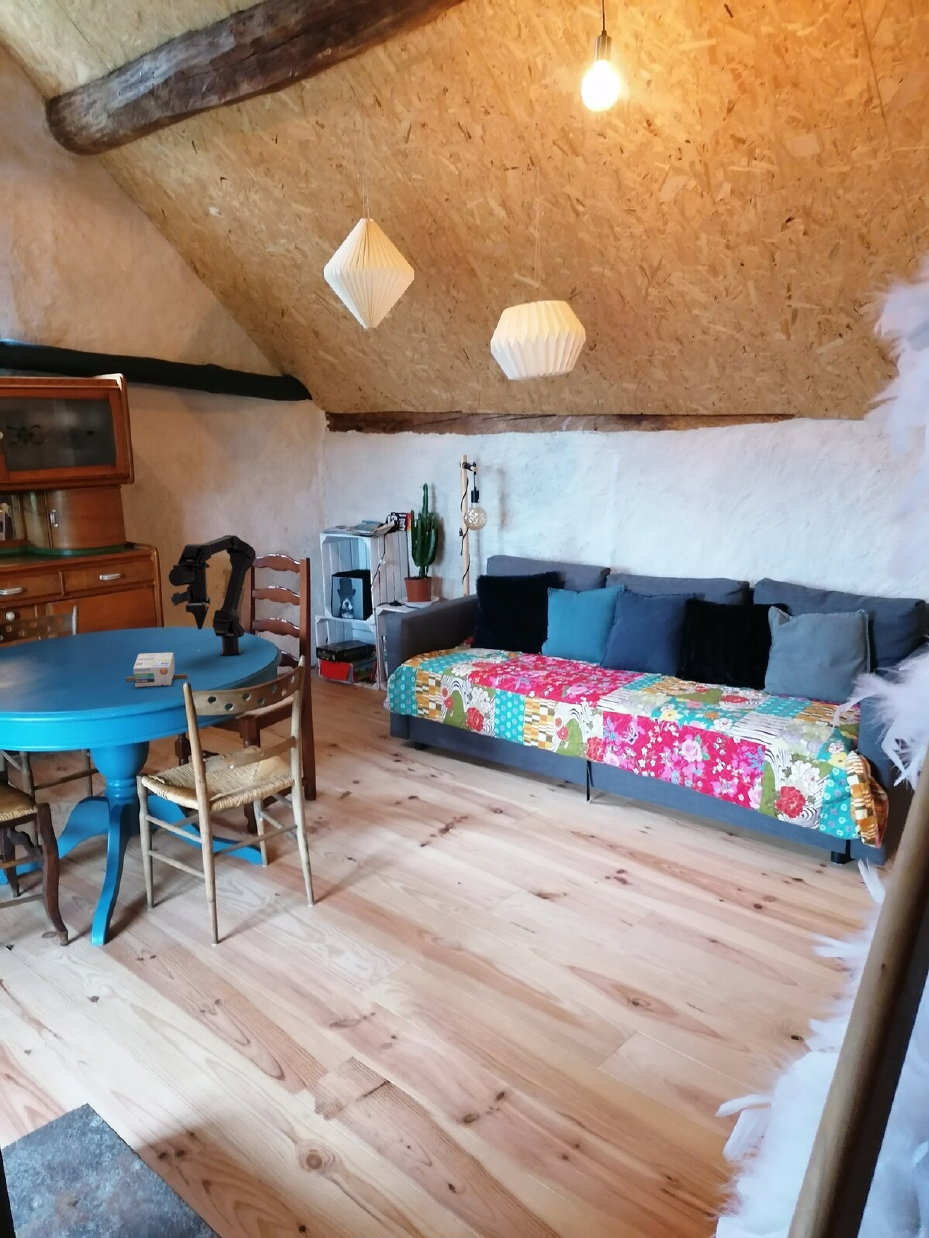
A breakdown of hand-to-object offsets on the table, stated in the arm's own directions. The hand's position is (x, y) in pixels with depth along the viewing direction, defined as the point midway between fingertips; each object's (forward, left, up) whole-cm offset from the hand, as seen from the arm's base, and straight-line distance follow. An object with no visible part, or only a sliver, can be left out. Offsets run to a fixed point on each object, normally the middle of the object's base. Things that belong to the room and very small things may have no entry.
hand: (200, 629), depth 275 cm
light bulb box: (+15, -12, -7) cm, 20 cm away
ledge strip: (+17, -12, -12) cm, 24 cm away
